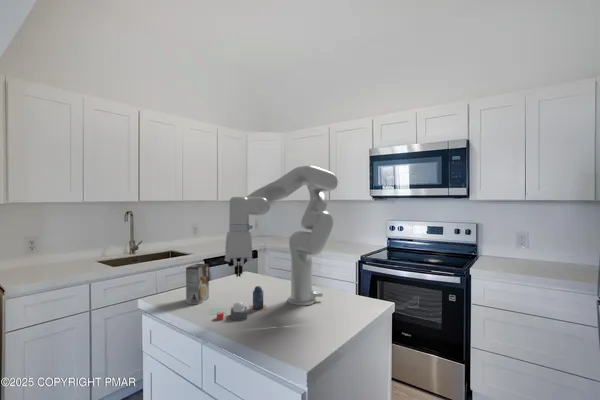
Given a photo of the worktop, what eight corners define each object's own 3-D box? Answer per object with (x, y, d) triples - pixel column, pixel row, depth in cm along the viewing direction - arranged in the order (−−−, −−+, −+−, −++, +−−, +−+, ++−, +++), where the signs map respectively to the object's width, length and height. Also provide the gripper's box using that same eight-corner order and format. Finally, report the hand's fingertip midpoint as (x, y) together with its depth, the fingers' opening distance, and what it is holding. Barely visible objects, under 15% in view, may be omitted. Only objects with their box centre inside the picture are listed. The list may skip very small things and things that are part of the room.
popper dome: (244, 312, 121) (244, 299, 121) (244, 316, 116) (244, 303, 116) (233, 313, 120) (233, 300, 120) (233, 317, 115) (233, 303, 115)
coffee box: (196, 297, 143) (196, 263, 143) (209, 298, 142) (209, 263, 142) (185, 303, 134) (185, 267, 134) (198, 304, 133) (199, 267, 133)
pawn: (262, 305, 130) (262, 284, 130) (263, 309, 126) (263, 287, 126) (252, 306, 129) (252, 285, 129) (253, 310, 125) (253, 287, 125)
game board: (265, 305, 132) (265, 298, 132) (269, 318, 117) (269, 310, 117) (210, 309, 127) (210, 302, 127) (207, 323, 113) (207, 314, 113)
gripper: (257, 227, 123) (257, 273, 123) (219, 227, 120) (219, 274, 120) (259, 229, 116) (258, 277, 116) (218, 229, 113) (218, 279, 113)
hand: (238, 275), depth 118 cm, fingers closed
